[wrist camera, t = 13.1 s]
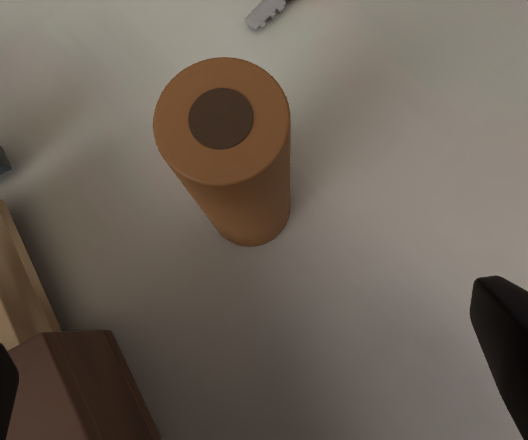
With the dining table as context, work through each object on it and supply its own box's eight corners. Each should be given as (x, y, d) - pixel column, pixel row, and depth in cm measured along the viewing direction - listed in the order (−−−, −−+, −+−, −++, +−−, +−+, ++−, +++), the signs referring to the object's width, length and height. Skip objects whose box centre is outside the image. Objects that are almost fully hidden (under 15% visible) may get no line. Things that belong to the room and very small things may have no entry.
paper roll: (305, 195, 20) (317, 96, 12) (262, 262, 20) (240, 211, 11) (239, 156, 21) (202, 32, 12) (195, 220, 20) (124, 139, 12)
